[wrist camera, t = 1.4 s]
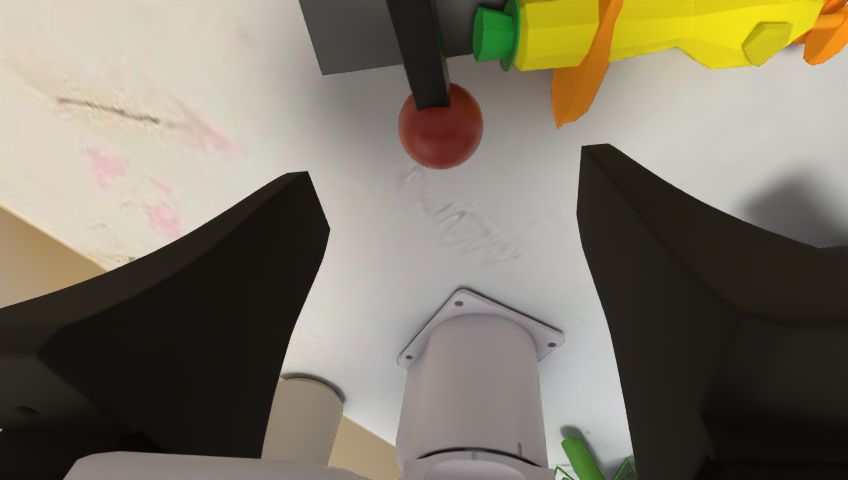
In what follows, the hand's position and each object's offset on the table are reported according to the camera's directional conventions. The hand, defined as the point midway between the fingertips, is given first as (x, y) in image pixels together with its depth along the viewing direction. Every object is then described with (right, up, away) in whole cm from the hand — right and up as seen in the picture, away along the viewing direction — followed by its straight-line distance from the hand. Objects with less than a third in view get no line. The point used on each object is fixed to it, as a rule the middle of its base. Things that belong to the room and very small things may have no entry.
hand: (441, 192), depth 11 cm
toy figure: (+13, +6, +3) cm, 15 cm away
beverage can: (-10, -14, +25) cm, 31 cm away
